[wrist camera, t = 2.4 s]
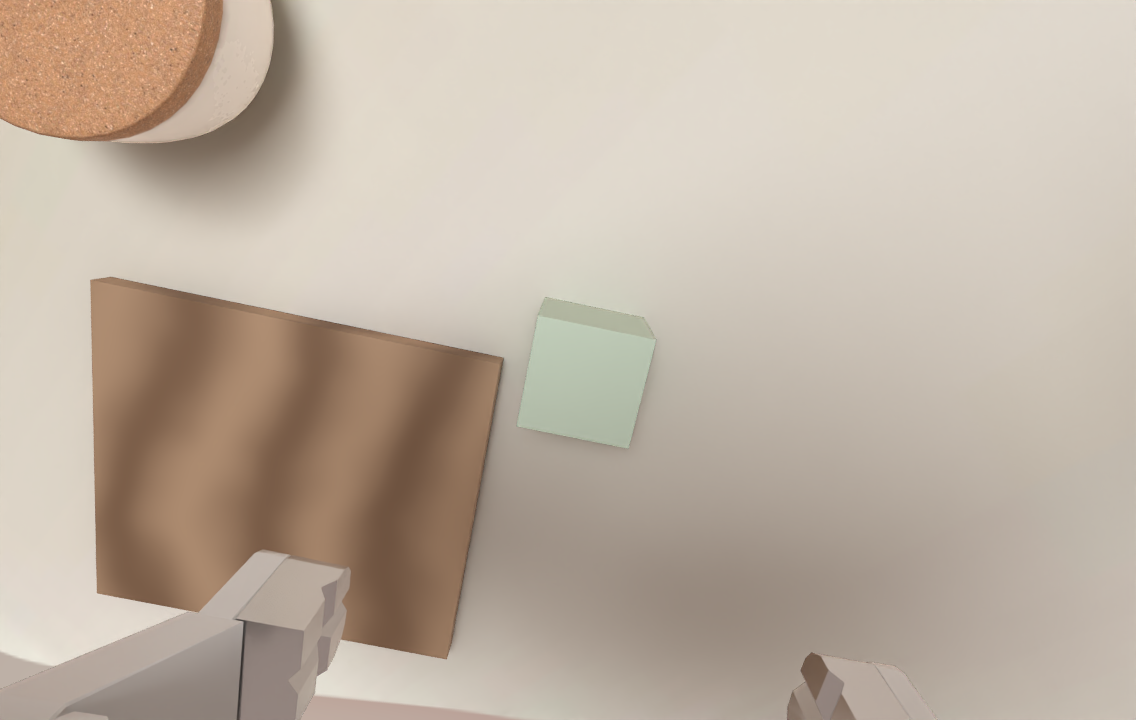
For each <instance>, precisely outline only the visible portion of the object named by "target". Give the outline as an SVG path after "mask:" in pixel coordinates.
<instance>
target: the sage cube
mask: <svg viewBox="0 0 1136 720" xmlns="http://www.w3.org/2000/svg"><path fill="white" fill-rule="evenodd" d="M655 344H656V338H655V337H654V335H653V333H652V331H651V330H650V328H649V326H648V324H647V323H646V321H645V319H644V318H643V317H639V316H634V315H629V314H624V313H620V312H615V311H610V310H605V309H600V308H596V307H591V306H586V305H581V304H576V303H572V302H567V301H562V300H557V299H552V298H548V297H545V299H544V302H543V304H542V307H541V309H540V312H539V314H538V318H537V323H536V328H535V333H534V338H533V344H532V349H531V354H530V359H529V364H528V369H527V374H526V379H525V385H524V390H523V395H522V400H521V405H520V410H519V415H518V421H517V427H522V428H527V429H532V430H537V431H542V432H547V433H552V434H557V435H562V436H567V437H572V438H577V439H582V440H586V441H591V442H596V443H601V444H606V445H611V446H616V447H621V448H626V449H629V445H630V442H631V438H632V434H633V430H634V426H635V422H636V418H637V414H638V410H639V406H640V402H641V398H642V395H643V391H644V387H645V383H646V379H647V375H648V371H649V367H650V363H651V359H652V355H653V351H654V348H655Z"/></svg>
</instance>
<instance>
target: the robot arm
mask: <svg viewBox="0 0 1136 720" xmlns="http://www.w3.org/2000/svg"><path fill="white" fill-rule="evenodd" d="M350 576H351V570H350V569H349V567H347V566H343V565H338V564H333V563H328V562H323V561H319V560H314V559H309V558H304V557H299V556H295V555H288V554H283V553H278V552H273V551H268V550H260V551H258V552H256V553H254V554H253V555H252V556H251V557H250V558H249V559H248V561H247V562H246V563H245V564H244V565H243V566H242V567H241V568H240V569H239V570H238V571H237V572H236V573H235V574H234V575H233V576H232V577H231V579H230V580H229V581H228V582H227V583H226V584H225V585H224V586H223V587H222V588H221V589H220V590H219V591H218V592H217V593H216V594H215V595H214V596H213V598H212V599H211V600H210V601H209V602H208V603H207V604H206V605H205V606H204V607H203V608H202V609H201V610H200V611H199V612H198V613H194V612H186V613H184V614H181V615H179V616H176V617H174V618H171V619H169V620H167V621H164V622H162V623H159V624H157V625H154V626H152V627H150V628H147V629H145V630H142V631H140V632H137V633H135V634H133V635H130V636H128V637H125V638H123V639H120V640H118V641H115V642H113V643H111V644H108V645H106V646H103V647H101V648H98V649H96V650H94V651H91V652H89V653H86V654H84V655H81V656H79V657H77V658H74V659H72V660H69V661H67V662H64V663H62V664H60V665H57V666H55V667H52V668H50V669H47V670H45V671H42V672H40V673H38V674H35V675H33V676H30V677H28V678H25V679H23V680H21V681H18V682H16V683H13V684H11V685H8V686H6V687H4V688H1V689H0V720H300V719H301V717H302V715H303V713H304V712H305V710H306V708H307V706H308V704H309V703H310V701H311V699H312V697H313V695H314V693H315V686H316V678H317V676H318V675H320V674H322V673H323V672H325V671H326V670H327V669H328V667H329V665H330V664H331V662H332V660H333V658H334V656H335V653H336V651H337V648H338V645H339V643H340V640H341V637H342V633H343V629H344V625H345V619H346V612H347V610H346V608H345V606H344V605H343V603H342V600H343V598H344V596H345V595H346V593H347V591H348V590H349V587H350ZM801 673H802V675H803V678H804V680H805V683H803V684H802V685H800V686H799V687H798V688H796V689H795V690H793V692H792V695H791V698H790V701H789V704H788V708H787V720H938V719H937V718H936V716H935V715H934V713H933V712H932V711H931V709H930V708H929V707H928V705H927V704H926V702H925V701H924V700H923V698H922V697H921V695H920V694H919V693H918V691H917V690H916V689H915V687H914V686H913V684H912V683H911V682H910V680H909V679H908V677H907V676H906V675H905V673H904V672H903V671H901V670H900V669H899V668H897V667H896V666H892V665H886V664H879V663H873V662H862V661H856V660H850V659H845V658H839V657H834V656H828V655H822V654H817V653H811V654H810V655H809V656H808V657H807V658H806V659H805V661H804V663H803V666H802V668H801Z"/></svg>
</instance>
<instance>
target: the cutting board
mask: <svg viewBox="0 0 1136 720" xmlns="http://www.w3.org/2000/svg"><path fill="white" fill-rule="evenodd" d="M91 328H92V377H93V425H94V474H95V522H96V570H97V593H98V594H104V595H109V596H114V597H119V598H125V599H130V600H135V601H141V602H146V603H151V604H156V605H162V606H167V607H172V608H178V609H183V610H188V611H194V612H199V611H200V610H201V609H202V608H203V607H204V606H205V605H206V604H207V603H208V602H209V601H210V600H211V599H212V598H213V596H214V595H215V594H216V593H217V592H218V591H219V590H220V589H221V588H222V587H223V586H224V585H225V584H226V583H227V582H228V581H229V580H230V579H231V577H232V576H233V575H234V574H235V573H236V572H237V571H238V570H239V569H240V568H241V567H242V566H243V565H244V564H245V563H246V562H247V561H248V559H249V558H250V557H251V556H252V555H253V554H254V553H256V552H258V551H260V550H268V551H273V552H278V553H283V554H288V555H295V556H299V557H304V558H309V559H314V560H319V561H323V562H328V563H333V564H338V565H343V566H347V567H349V569H350V570H351V576H350V587H349V590H348V591H347V593H346V595H345V596H344V598H343V600H342V603H343V605H344V606H345V608H346V610H347V612H346V619H345V625H344V629H343V633H342V637H341V639H342V640H347V641H352V642H358V643H363V644H368V645H373V646H379V647H384V648H389V649H395V650H400V651H405V652H411V653H416V654H421V655H426V656H432V657H437V658H442V659H447V656H448V653H449V650H450V646H451V643H452V637H453V632H454V626H455V621H456V615H457V610H458V604H459V599H460V593H461V588H462V582H463V577H464V571H465V566H466V560H467V555H468V549H469V544H470V538H471V533H472V528H473V522H474V517H475V511H476V506H477V500H478V495H479V489H480V484H481V478H482V473H483V467H484V462H485V456H486V451H487V445H488V440H489V434H490V429H491V424H492V418H493V413H494V407H495V402H496V396H497V391H498V385H499V380H500V374H501V369H502V363H503V358H502V357H497V356H492V355H488V354H483V353H478V352H473V351H468V350H463V349H458V348H453V347H449V346H444V345H439V344H434V343H429V342H424V341H419V340H415V339H410V338H405V337H400V336H395V335H390V334H385V333H381V332H376V331H371V330H366V329H361V328H356V327H351V326H347V325H342V324H337V323H332V322H327V321H322V320H317V319H313V318H308V317H303V316H298V315H293V314H288V313H283V312H279V311H274V310H269V309H264V308H259V307H254V306H249V305H245V304H240V303H235V302H230V301H225V300H220V299H215V298H211V297H206V296H201V295H196V294H191V293H186V292H181V291H177V290H172V289H167V288H162V287H157V286H152V285H147V284H143V283H138V282H133V281H128V280H123V279H118V278H113V277H107V278H100V279H94V280H91Z"/></svg>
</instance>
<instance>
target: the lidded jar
mask: <svg viewBox="0 0 1136 720" xmlns="http://www.w3.org/2000/svg"><path fill="white" fill-rule="evenodd" d="M273 42H274V22H273V13H272V5H271V1H270V0H0V119H2V120H4V121H6V122H8V123H10V124H12V125H14V126H17V127H20V128H23V129H26V130H29V131H32V132H35V133H37V134H41V135H47V136H52V137H58V138H64V139H70V140H78V141H110V142H121V143H166V142H172V141H178V140H184V139H189V138H194V137H198V136H201V135H203V134H206V133H209V132H212V131H214V130H216V129H217V128H219V127H221V126H222V125H224V124H226V123H227V122H229V121H231V120H233V119H234V118H235V117H236V116H238V115H239V114H240V113H241V112H242V111H243V110H244V109H246V108H247V106H248V105H249V104H250V102H251V101H252V100H253V99H254V97H255V96H256V95H257V93H258V91H259V89H260V87H261V85H262V84H263V82H264V80H265V77H266V74H267V71H268V68H269V65H270V61H271V56H272V50H273Z"/></svg>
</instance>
